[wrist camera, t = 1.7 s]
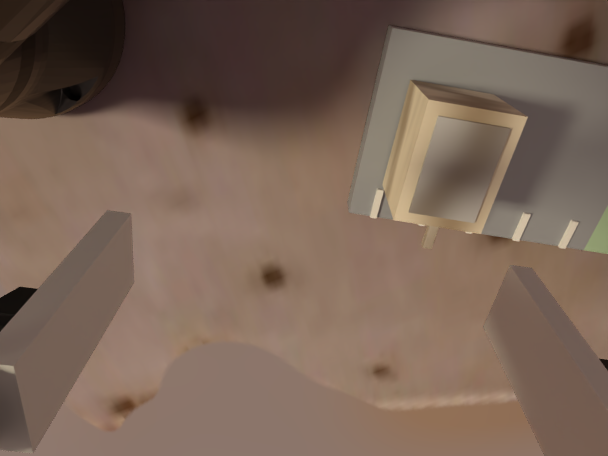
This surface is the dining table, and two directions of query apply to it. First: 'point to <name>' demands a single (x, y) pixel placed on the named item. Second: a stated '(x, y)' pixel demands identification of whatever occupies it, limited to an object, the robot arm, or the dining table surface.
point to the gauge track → (532, 143)
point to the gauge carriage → (449, 157)
